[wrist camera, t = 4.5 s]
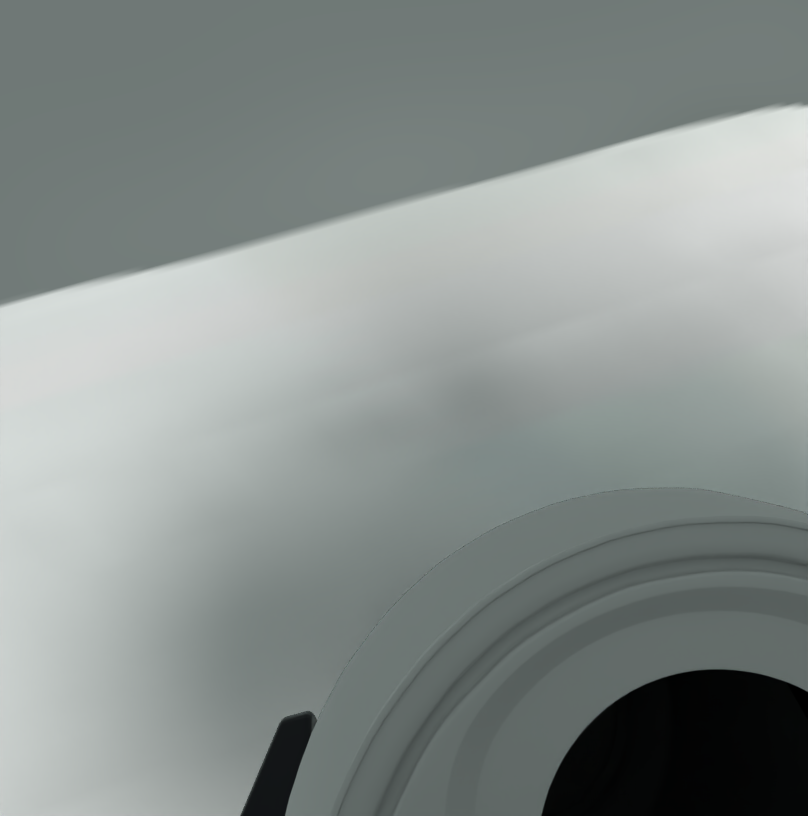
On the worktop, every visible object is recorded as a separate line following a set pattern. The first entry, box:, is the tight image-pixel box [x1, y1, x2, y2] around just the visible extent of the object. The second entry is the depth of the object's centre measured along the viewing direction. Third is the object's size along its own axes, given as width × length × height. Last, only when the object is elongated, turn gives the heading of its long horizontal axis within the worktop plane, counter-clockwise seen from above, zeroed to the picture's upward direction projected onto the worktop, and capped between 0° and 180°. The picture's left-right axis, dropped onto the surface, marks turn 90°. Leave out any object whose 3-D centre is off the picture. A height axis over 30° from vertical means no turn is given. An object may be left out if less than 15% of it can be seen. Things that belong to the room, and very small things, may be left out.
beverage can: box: [285, 488, 808, 816], centre depth 9 cm, size 6×6×12 cm
